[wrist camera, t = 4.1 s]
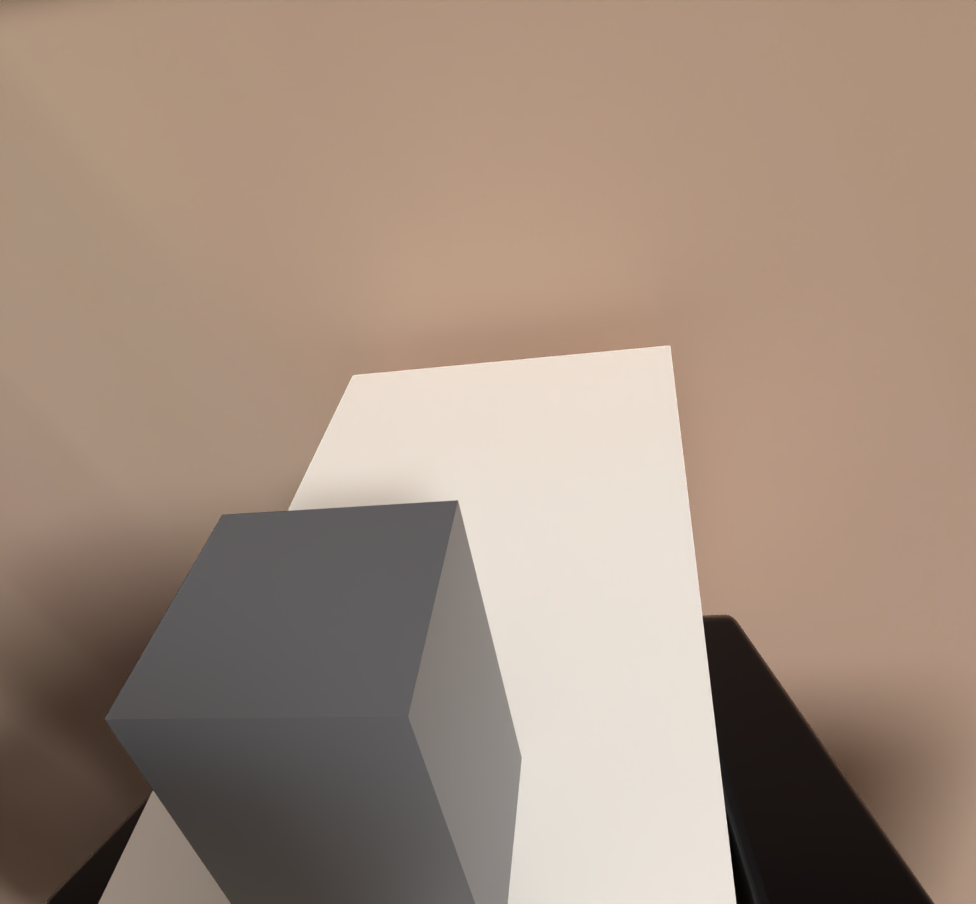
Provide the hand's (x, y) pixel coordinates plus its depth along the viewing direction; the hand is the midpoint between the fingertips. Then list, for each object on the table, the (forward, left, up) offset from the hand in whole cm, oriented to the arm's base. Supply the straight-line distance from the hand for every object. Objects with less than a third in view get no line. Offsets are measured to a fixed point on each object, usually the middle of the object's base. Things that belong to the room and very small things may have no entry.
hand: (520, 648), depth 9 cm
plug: (0, 0, -2) cm, 2 cm away
